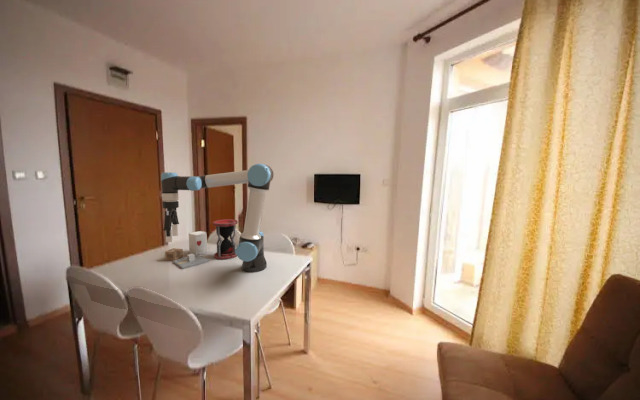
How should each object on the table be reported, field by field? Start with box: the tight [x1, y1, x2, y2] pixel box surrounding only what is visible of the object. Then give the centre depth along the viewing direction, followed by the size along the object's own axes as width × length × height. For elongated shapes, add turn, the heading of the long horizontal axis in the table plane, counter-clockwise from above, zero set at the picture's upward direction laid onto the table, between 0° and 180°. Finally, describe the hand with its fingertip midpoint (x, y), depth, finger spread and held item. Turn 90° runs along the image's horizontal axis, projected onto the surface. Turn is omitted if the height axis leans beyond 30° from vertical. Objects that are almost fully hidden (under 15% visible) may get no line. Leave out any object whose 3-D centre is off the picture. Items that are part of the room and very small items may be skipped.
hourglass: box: [212, 218, 238, 260], centre depth 171 cm, size 16×16×25 cm
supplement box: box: [188, 230, 208, 256], centre depth 178 cm, size 9×9×15 cm
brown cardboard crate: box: [164, 248, 184, 262], centre depth 165 cm, size 7×7×6 cm
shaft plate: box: [172, 253, 210, 270], centre depth 159 cm, size 16×16×5 cm
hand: (172, 238), depth 134 cm, fingers open, 13 cm apart
